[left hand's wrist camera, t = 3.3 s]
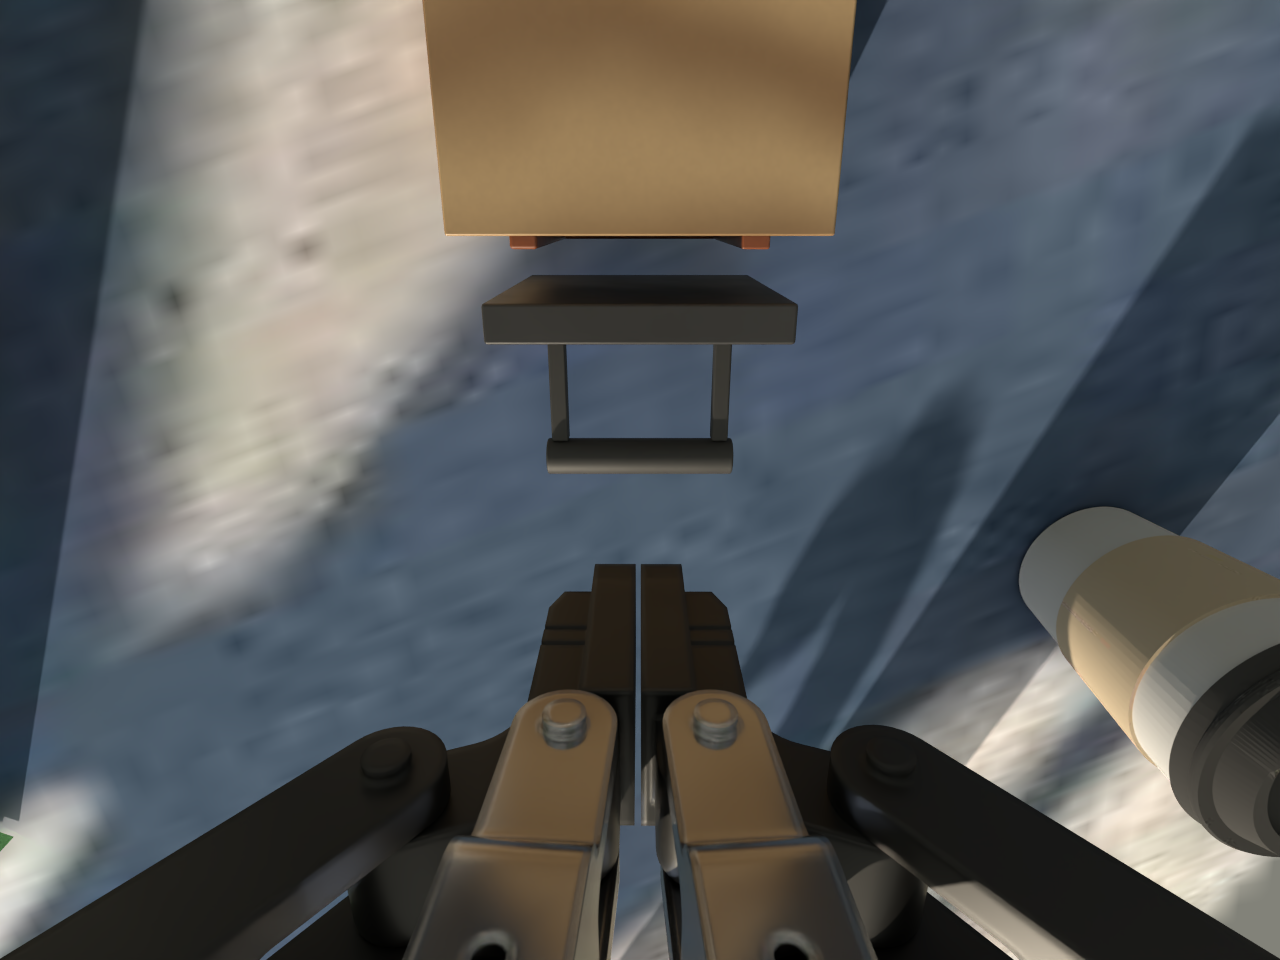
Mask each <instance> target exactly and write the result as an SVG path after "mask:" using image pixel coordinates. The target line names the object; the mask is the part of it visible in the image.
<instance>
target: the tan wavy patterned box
mask: <svg viewBox="0 0 1280 960" xmlns="http://www.w3.org/2000/svg"><path fill="white" fill-rule="evenodd" d="M422 1H423V11H424V22H425V32H426V43H427V53H428V64H429V74H430V85H431V95H432V106H433V116H434V126H435V137H436V147H437V158H438V168H439V179H440V189H441V200H442V210H443V220H444V231H445V235H447V236H833V235H834V234H835V224H836V214H837V203H838V193H839V182H840V172H841V161H842V151H843V140H844V130H845V119H846V109H847V98H848V88H849V77H850V67H851V56H852V46H853V35H854V25H855V14H856V4H857V0H422Z"/></svg>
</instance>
